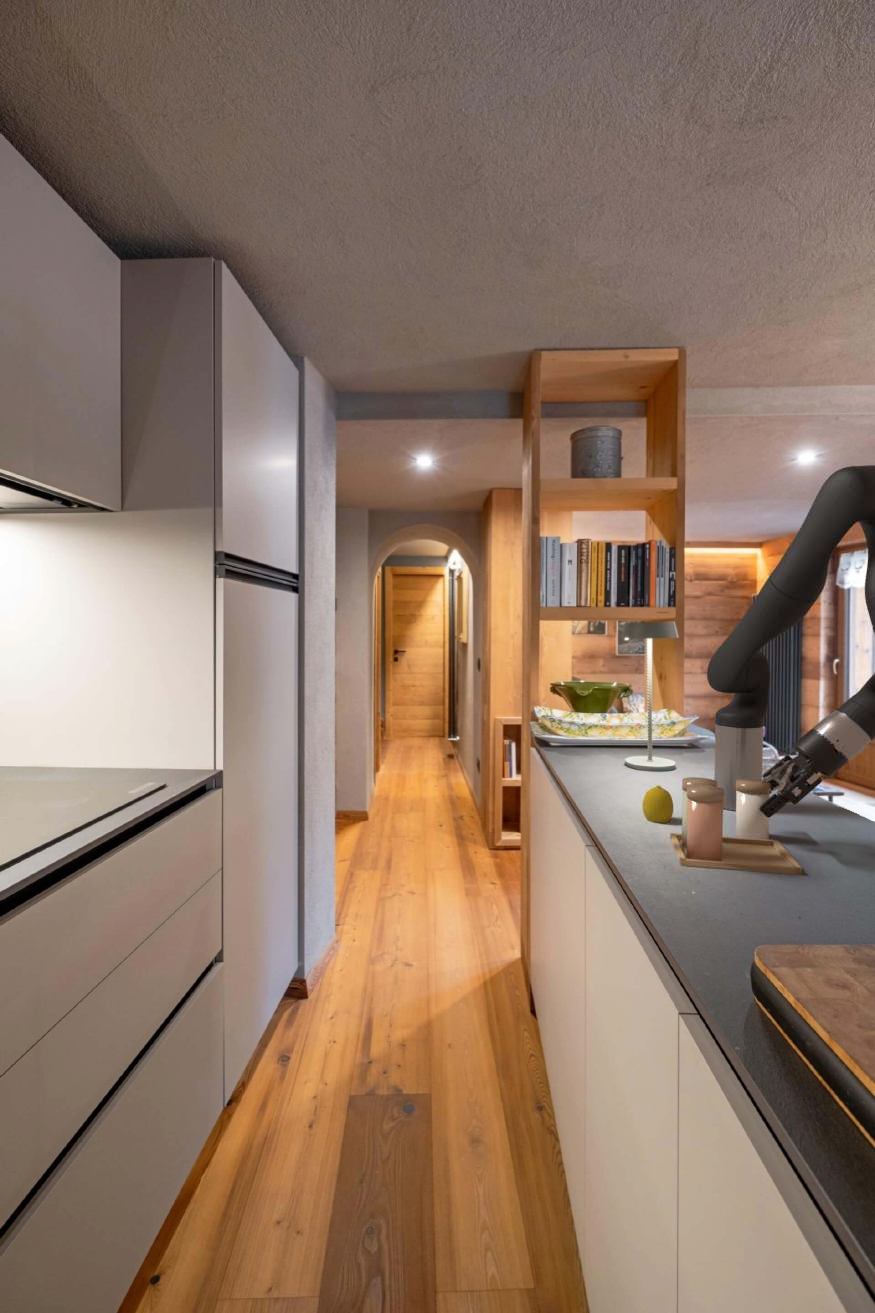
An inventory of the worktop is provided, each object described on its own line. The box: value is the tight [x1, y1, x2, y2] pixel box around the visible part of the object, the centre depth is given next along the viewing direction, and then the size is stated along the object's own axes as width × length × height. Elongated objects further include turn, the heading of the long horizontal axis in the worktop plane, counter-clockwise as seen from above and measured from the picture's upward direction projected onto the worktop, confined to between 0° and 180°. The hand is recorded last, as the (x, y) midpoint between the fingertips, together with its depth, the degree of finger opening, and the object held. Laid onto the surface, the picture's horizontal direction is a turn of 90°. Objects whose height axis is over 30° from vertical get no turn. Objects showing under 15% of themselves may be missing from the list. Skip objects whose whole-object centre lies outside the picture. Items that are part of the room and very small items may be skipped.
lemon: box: [642, 785, 674, 824], centre depth 127 cm, size 6×6×8 cm
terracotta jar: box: [686, 785, 724, 861], centre depth 106 cm, size 5×5×11 cm
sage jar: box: [681, 776, 718, 849], centre depth 111 cm, size 5×5×11 cm
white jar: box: [735, 779, 771, 840], centre depth 117 cm, size 5×5×11 cm
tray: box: [669, 832, 804, 876], centre depth 108 cm, size 14×17×2 cm
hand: (756, 806), depth 117 cm, fingers open, 8 cm apart
